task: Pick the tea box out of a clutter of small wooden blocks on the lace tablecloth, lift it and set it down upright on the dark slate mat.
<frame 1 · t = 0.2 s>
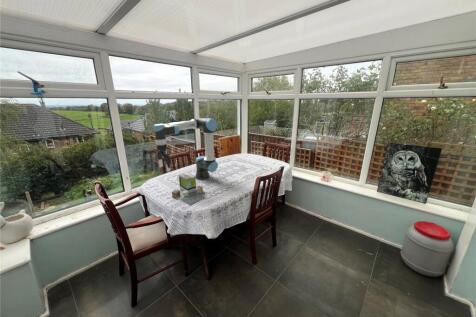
hand: (165, 169, 153), 27 cm above the table, fingers open, 13 cm apart
slate mat: (193, 198, 161), on the table
tea box: (188, 189, 177), on the table
sage cube: (185, 195, 166), on the table
walnut block: (176, 196, 165), on the table
beech cylinder: (200, 192, 171), on the table
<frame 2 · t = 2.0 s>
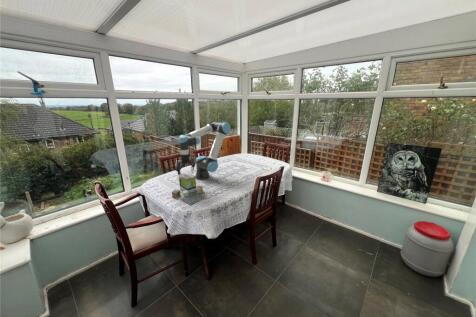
hand: (186, 175, 172), 15 cm above the table, fingers open, 13 cm apart
nothing on the table moved.
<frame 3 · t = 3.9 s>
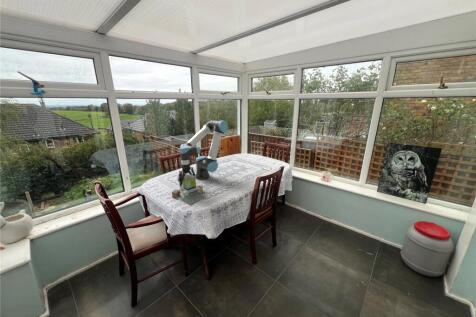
hand: (187, 185, 175), 4 cm above the table, fingers closed on tea box, 10 cm apart
tea box: (188, 189, 177), on the table, touching gripper
everything else where it was.
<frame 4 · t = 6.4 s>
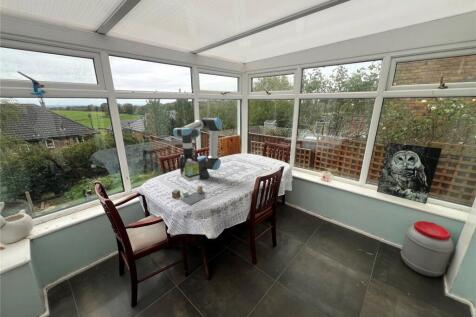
hand: (189, 173, 155), 24 cm above the table, fingers closed on tea box, 10 cm apart
tea box: (190, 178, 156), point 19 cm above the table, touching gripper
everything else where it was.
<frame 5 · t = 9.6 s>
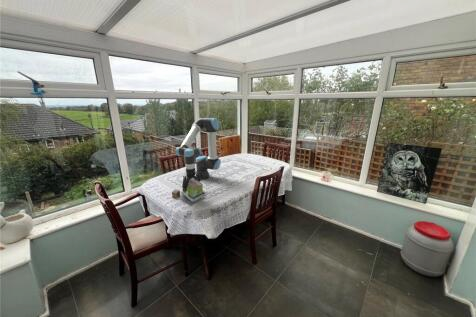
hand: (192, 191, 159), 7 cm above the table, fingers closed on tea box, 10 cm apart
tea box: (191, 195, 161), point 2 cm above the table, touching gripper, sage cube, slate mat
sage cube: (184, 195, 166), on the table, touching tea box
everything else where it was.
when the fingers open (6 cm above the table, at t = 10.7 s): tea box drops 2 cm, resting on slate mat.
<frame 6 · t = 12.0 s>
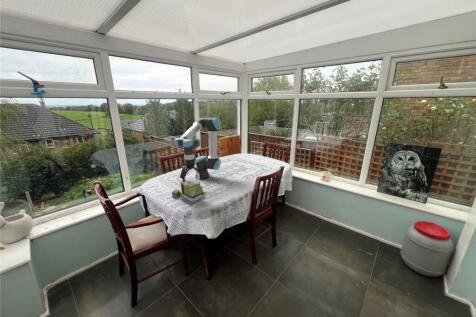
hand: (191, 182, 156), 16 cm above the table, fingers open, 13 cm apart
tea box: (191, 197, 162), resting on slate mat
sage cube: (183, 195, 167), on the table
everything else where it was.
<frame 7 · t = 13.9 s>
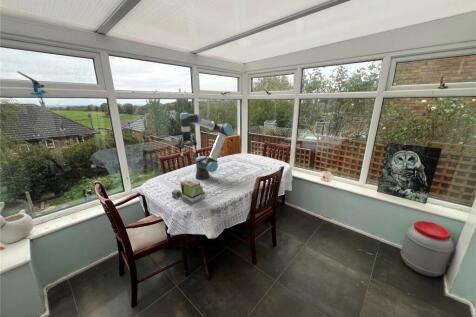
hand: (188, 154, 169), 34 cm above the table, fingers open, 13 cm apart
nothing on the table moved.
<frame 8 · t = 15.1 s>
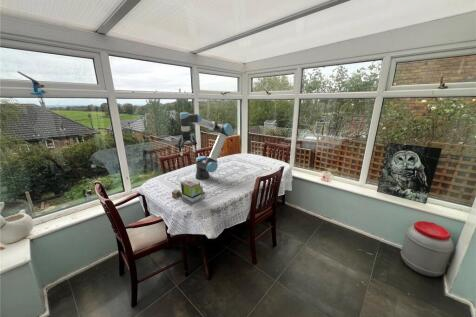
hand: (188, 153, 169), 35 cm above the table, fingers open, 13 cm apart
nothing on the table moved.
at the end: tea box inside the target area on the slate mat (1.8 cm from its centre), point 0.4 cm above the slate mat's base; tea box tilted 0°; the gripper is holding nothing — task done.
